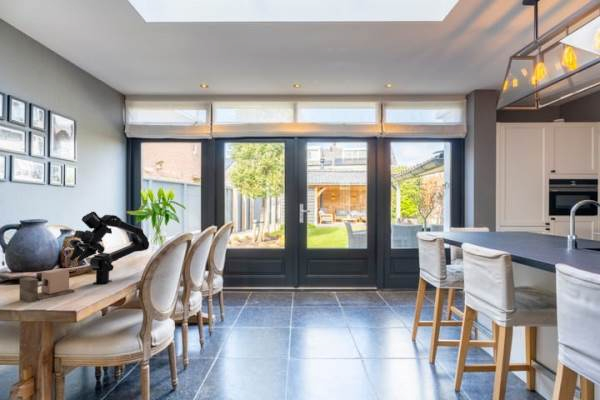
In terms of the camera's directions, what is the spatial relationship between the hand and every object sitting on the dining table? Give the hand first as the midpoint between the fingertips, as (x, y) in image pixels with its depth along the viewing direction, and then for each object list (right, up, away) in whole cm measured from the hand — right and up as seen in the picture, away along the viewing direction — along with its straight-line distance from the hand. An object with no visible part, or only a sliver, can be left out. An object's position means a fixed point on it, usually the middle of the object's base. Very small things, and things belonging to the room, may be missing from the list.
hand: (74, 260), depth 157 cm
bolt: (-6, -9, -13) cm, 17 cm away
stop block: (-5, -14, -10) cm, 18 cm away
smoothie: (-25, -13, +35) cm, 45 cm away
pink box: (-3, -12, -7) cm, 15 cm away
